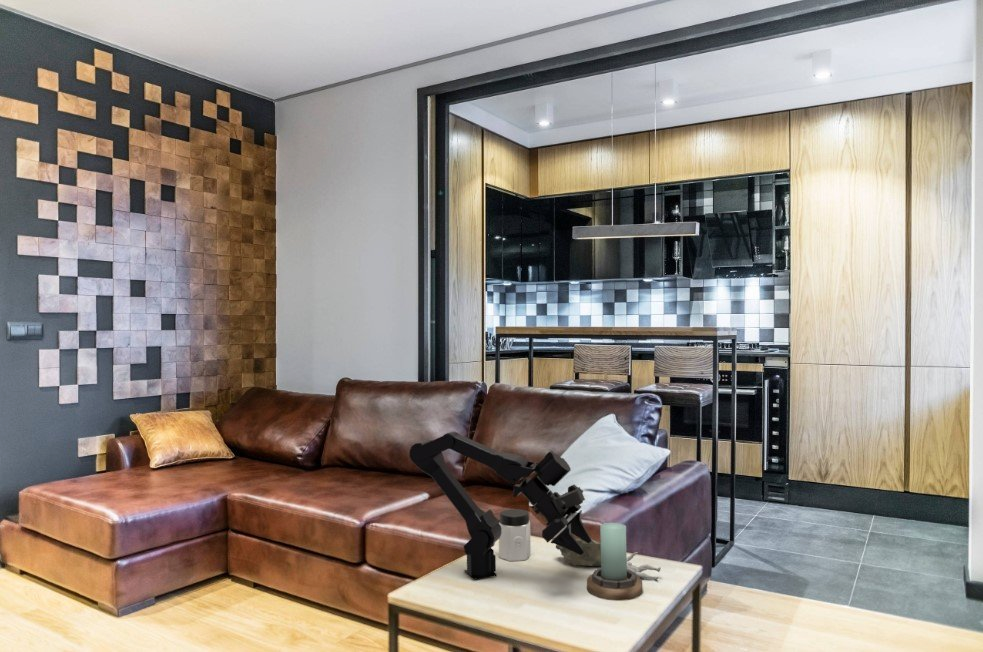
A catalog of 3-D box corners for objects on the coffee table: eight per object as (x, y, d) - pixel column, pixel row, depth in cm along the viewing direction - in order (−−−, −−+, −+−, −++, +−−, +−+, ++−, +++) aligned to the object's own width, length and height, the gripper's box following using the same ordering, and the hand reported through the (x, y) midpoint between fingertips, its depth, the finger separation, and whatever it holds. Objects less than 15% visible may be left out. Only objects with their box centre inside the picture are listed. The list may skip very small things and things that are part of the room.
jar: (502, 562, 178) (501, 517, 179) (495, 553, 186) (495, 510, 187) (534, 559, 180) (533, 515, 180) (526, 550, 188) (526, 508, 188)
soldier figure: (654, 589, 161) (607, 569, 164) (651, 597, 164) (604, 577, 168) (662, 560, 166) (616, 542, 169) (659, 568, 169) (614, 550, 172)
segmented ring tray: (606, 604, 150) (606, 588, 150) (576, 584, 162) (576, 570, 162) (653, 594, 155) (653, 579, 155) (621, 576, 167) (621, 562, 167)
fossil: (591, 585, 171) (616, 562, 176) (584, 553, 167) (610, 531, 172) (552, 562, 182) (577, 541, 187) (545, 532, 178) (570, 511, 183)
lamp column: (617, 587, 154) (616, 531, 154) (596, 581, 158) (595, 526, 159) (631, 580, 158) (631, 526, 158) (611, 574, 163) (610, 521, 163)
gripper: (555, 484, 154) (603, 537, 150) (572, 469, 171) (616, 516, 168) (522, 516, 156) (569, 568, 153) (543, 497, 174) (585, 544, 170)
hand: (586, 547), depth 161 cm, fingers open, 9 cm apart
